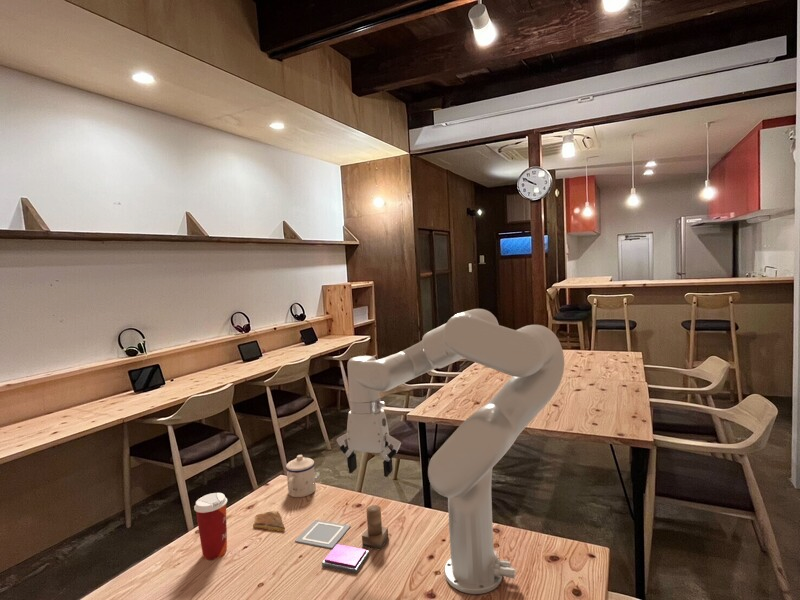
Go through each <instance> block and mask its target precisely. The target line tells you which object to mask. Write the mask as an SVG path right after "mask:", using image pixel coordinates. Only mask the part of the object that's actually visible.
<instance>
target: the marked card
mask: <svg viewBox="0 0 800 600" xmlns="http://www.w3.org/2000/svg"><path fill="white" fill-rule="evenodd" d="M350 528H351V525H350V524H343V523H337V522H331V521H325V520H319V519H315V520H313V522H312V523H311V524H310V525H309V526H308V527H307V528H306V529H305V530H304V531H303V532H302V533H301V534H300V535H299V536H298V537H297V538H296V539H295V540H294V542H295V543H299V542H300V544H304V545H310V546H315V547H320V548H326V549H331V550H332V549H333V548H334V547H335V546H336V545H337V544H338V543H339V542H340V541H341V540H342V538H343V537H344V535H346V533H347V531H348V530H349V529H350Z"/></svg>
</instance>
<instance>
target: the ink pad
mask: <svg viewBox="0 0 800 600" xmlns="http://www.w3.org/2000/svg"><path fill="white" fill-rule="evenodd" d="M369 555H370V551H369V550H367V549H364V548H360V547H355V546H349V545H344V544H338V543H337V544H336V545H335V546H334V547H333V549H331V550H330V552H329V553H328V554H327V555H326V556H325V558H324V559H323V560H322V561H321V567H323V568H329V569H333V570H337V571H342V572H347V573H352V574H358V572H359V570H360V569H361V567H362V566H363V565H364V563H365V562H366V560H367V559H368V557H369Z"/></svg>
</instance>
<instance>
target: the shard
mask: <svg viewBox="0 0 800 600" xmlns="http://www.w3.org/2000/svg"><path fill="white" fill-rule="evenodd" d="M252 527H253V528H254V529H257V528H258V529H264V528H265V530H268V529H270V531H275V530H277V531H276V532H285V531H286V528H285V524H284V522H283V519H282V516H281V513H280V512H279V510H277V511H276V510H271V511H267V512H263V513H260V514H259V513H258V514H256V515H254V523H253V525H252ZM278 530H279V531H278Z"/></svg>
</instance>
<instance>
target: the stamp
mask: <svg viewBox="0 0 800 600" xmlns="http://www.w3.org/2000/svg"><path fill="white" fill-rule="evenodd" d="M365 511H366V520H367V521H366V522H367V523H366V524H367V528H366V530H365V531H364V532H363V534H362V535H361V541H362V542H361V543H362V544H361V545H362V548H363V547H364V548H368V549H374V550H379V551H382V549H383V548H384V546H385V544H386V543H387V541H388V540H389V528H388V527H385V526H383V524H382V507H381V506H380V505H377V504H373V505H369V506H367V507H366V510H365Z"/></svg>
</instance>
